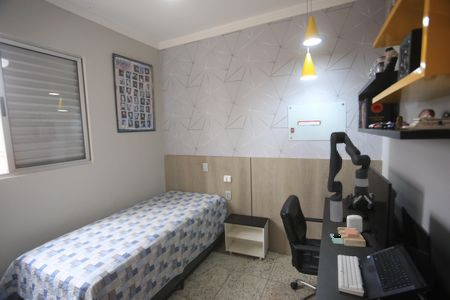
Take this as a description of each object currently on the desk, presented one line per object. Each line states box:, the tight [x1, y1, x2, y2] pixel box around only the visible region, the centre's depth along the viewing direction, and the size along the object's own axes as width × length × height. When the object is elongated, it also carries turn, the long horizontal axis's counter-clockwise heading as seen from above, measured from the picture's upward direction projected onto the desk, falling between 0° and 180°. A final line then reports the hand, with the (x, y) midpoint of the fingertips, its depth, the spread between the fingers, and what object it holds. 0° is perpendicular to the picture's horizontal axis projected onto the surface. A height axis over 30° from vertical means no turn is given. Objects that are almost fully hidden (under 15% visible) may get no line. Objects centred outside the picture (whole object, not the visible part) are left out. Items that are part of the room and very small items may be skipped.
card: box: [344, 227, 358, 237], centre depth 155 cm, size 9×6×2 cm, turn 165°
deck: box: [337, 226, 367, 248], centre depth 156 cm, size 20×12×4 cm, turn 165°
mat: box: [329, 233, 344, 245], centre depth 157 cm, size 14×6×1 cm, turn 165°
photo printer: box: [346, 214, 363, 233], centre depth 167 cm, size 10×4×12 cm, turn 81°
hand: (362, 208), depth 151 cm, fingers open, 8 cm apart
